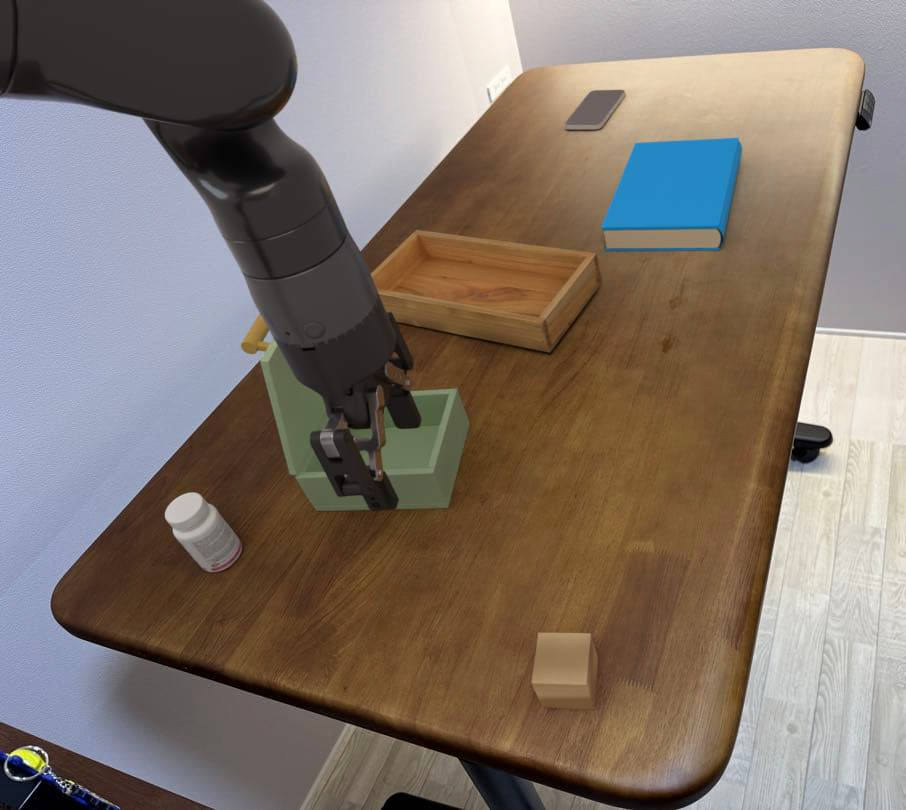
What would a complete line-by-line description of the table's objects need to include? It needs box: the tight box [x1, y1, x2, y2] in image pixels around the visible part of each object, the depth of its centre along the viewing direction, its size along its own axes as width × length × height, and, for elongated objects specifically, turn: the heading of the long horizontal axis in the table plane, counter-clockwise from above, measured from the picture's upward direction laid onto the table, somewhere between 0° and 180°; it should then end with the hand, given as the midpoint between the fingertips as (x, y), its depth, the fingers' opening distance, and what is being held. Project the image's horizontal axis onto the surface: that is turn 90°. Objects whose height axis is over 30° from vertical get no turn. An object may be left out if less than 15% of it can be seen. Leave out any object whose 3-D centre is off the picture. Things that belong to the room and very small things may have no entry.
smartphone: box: [564, 89, 626, 130], centre depth 146 cm, size 7×1×15 cm
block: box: [531, 632, 599, 711], centre depth 65 cm, size 4×4×4 cm
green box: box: [295, 388, 471, 512], centre depth 88 cm, size 16×13×6 cm
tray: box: [370, 229, 602, 353], centre depth 107 cm, size 31×15×6 cm, turn 61°
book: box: [600, 137, 743, 252], centre depth 117 cm, size 17×4×25 cm
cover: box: [240, 312, 326, 476], centre depth 81 cm, size 16×13×5 cm
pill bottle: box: [164, 491, 243, 573], centre depth 82 cm, size 5×5×8 cm
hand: (398, 464), depth 63 cm, fingers open, 8 cm apart
